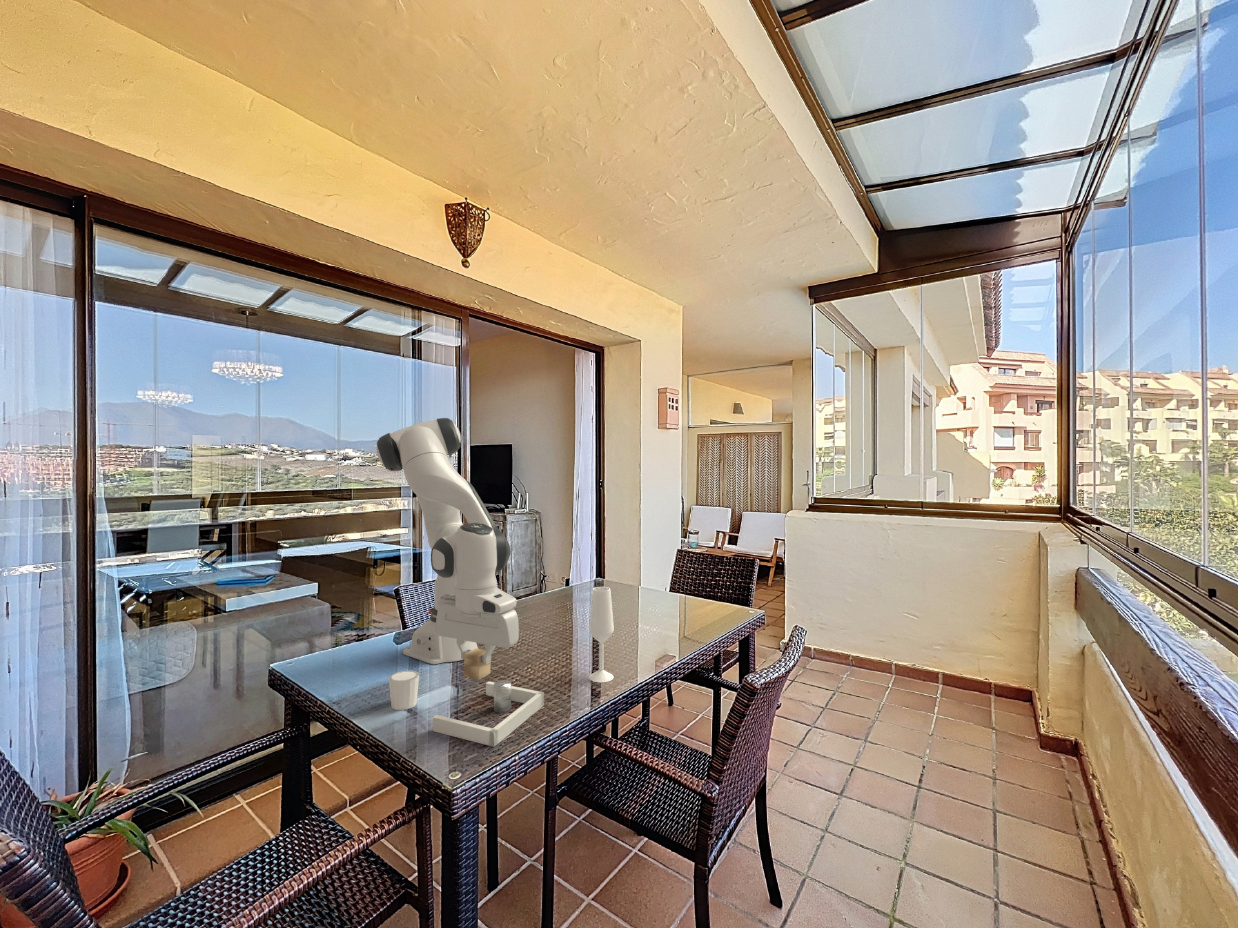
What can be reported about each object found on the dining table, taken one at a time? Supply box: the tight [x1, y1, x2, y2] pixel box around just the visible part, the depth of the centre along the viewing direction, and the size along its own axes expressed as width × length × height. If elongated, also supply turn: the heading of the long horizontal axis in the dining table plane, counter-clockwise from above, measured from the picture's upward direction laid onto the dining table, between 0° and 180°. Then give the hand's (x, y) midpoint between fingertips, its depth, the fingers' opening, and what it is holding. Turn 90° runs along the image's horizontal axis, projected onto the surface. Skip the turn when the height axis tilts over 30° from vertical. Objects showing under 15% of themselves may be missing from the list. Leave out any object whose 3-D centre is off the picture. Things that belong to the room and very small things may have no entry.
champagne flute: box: [588, 586, 615, 683], centre depth 144 cm, size 7×7×24 cm
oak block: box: [463, 647, 492, 681], centre depth 117 cm, size 4×4×5 cm
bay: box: [432, 681, 545, 747], centre depth 122 cm, size 16×20×3 cm
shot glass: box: [388, 669, 420, 711], centre depth 128 cm, size 7×7×7 cm
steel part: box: [493, 679, 512, 714], centre depth 126 cm, size 4×4×6 cm
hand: (475, 660), depth 117 cm, fingers closed on oak block, 4 cm apart
